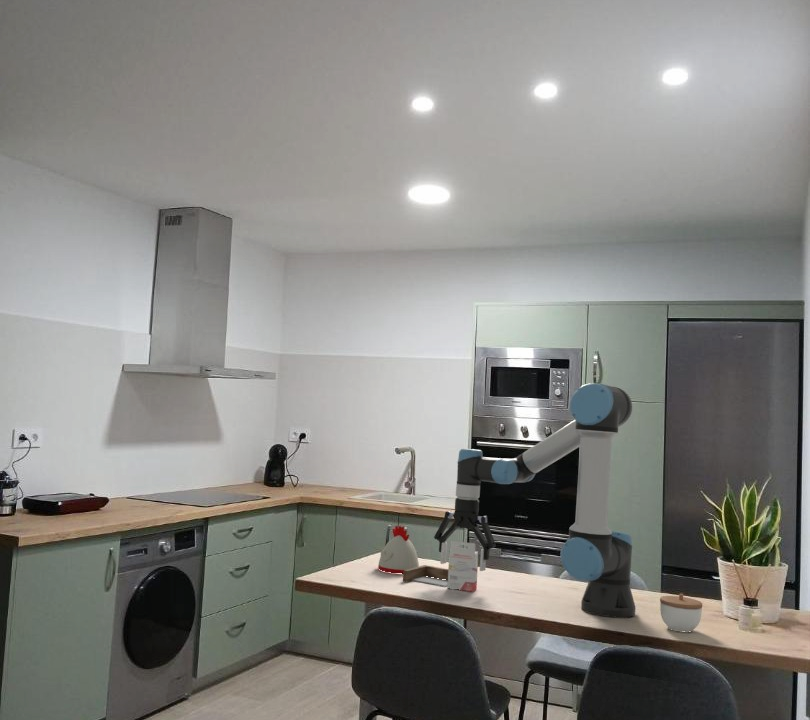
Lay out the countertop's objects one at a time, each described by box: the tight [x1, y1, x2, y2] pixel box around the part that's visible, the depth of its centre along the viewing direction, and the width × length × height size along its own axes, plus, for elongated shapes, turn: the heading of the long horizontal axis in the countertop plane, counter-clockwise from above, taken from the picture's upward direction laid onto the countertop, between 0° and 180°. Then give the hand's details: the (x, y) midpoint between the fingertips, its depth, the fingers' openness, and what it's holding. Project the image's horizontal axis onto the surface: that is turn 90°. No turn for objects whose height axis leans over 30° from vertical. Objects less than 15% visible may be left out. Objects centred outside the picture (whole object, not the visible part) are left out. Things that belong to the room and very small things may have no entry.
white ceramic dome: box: [377, 525, 420, 574], centre depth 260 cm, size 14×14×15 cm
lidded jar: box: [659, 593, 703, 632], centre depth 204 cm, size 11×11×9 cm
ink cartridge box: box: [447, 540, 479, 593], centre depth 237 cm, size 9×5×15 cm, turn 73°
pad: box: [412, 576, 448, 587], centre depth 244 cm, size 12×8×1 cm, turn 60°
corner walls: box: [402, 564, 448, 583], centre depth 243 cm, size 18×14×4 cm
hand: (462, 566), depth 237 cm, fingers open, 13 cm apart
